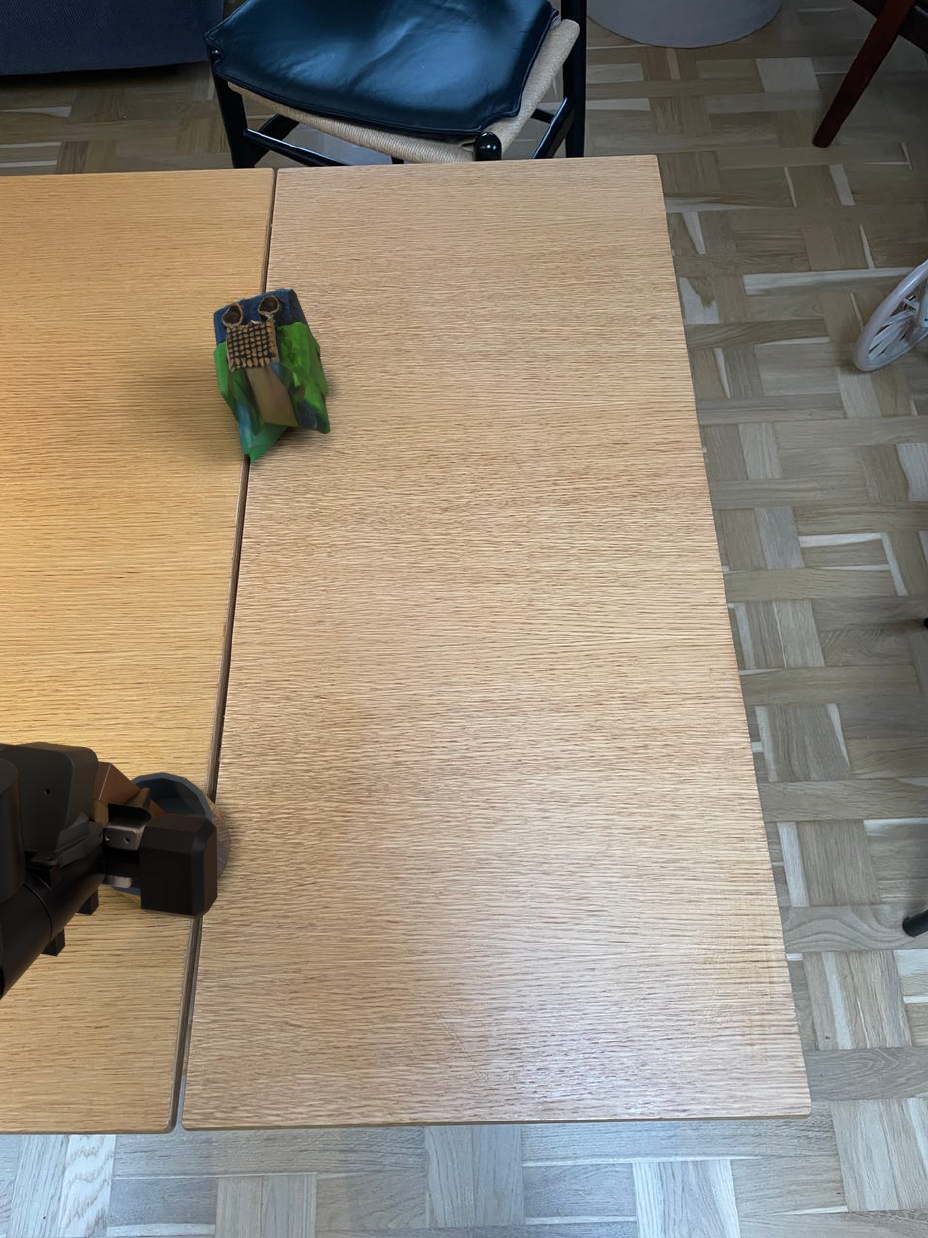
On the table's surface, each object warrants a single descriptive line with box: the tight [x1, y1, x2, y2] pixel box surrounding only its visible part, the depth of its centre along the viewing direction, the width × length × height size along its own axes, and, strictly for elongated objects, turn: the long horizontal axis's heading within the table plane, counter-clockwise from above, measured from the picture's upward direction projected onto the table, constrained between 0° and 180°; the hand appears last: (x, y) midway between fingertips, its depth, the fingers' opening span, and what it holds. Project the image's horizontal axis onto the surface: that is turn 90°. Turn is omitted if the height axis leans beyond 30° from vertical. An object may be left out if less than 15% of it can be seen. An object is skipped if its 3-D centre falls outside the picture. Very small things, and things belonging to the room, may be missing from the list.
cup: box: [102, 771, 231, 905], centre depth 77 cm, size 9×9×6 cm
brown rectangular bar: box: [90, 760, 167, 827], centre depth 69 cm, size 3×3×14 cm
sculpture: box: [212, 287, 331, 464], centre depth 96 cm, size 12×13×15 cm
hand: (129, 791), depth 70 cm, fingers closed on brown rectangular bar, 2 cm apart
